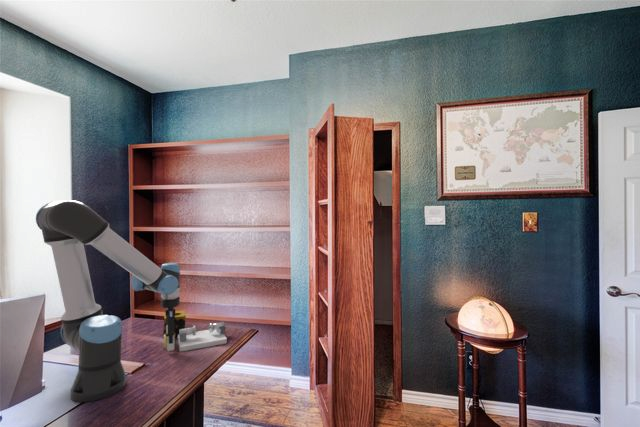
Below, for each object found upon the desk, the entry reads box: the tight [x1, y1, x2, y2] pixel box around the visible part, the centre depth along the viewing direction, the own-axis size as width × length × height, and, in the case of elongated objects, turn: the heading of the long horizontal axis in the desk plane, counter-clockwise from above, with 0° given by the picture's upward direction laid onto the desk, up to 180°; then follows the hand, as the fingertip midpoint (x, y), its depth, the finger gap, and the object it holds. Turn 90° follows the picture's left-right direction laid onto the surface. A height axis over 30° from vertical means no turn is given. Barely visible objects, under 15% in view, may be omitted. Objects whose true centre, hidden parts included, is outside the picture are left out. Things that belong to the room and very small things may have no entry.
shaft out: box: [208, 321, 226, 335], centre depth 146 cm, size 7×5×6 cm
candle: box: [162, 310, 187, 339], centre depth 151 cm, size 10×10×10 cm
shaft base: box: [177, 325, 228, 352], centre depth 142 cm, size 20×16×8 cm
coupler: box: [162, 332, 176, 351], centre depth 134 cm, size 5×5×7 cm
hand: (170, 344), depth 135 cm, fingers open, 13 cm apart
